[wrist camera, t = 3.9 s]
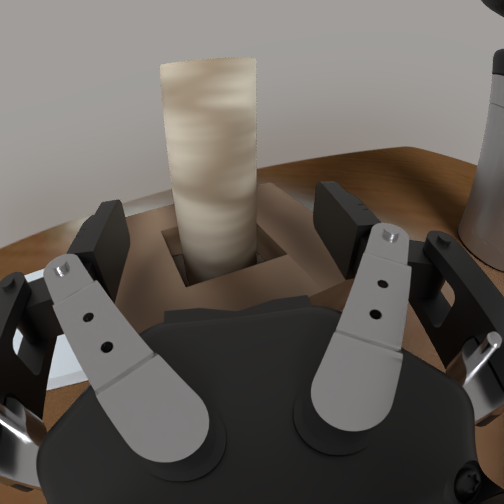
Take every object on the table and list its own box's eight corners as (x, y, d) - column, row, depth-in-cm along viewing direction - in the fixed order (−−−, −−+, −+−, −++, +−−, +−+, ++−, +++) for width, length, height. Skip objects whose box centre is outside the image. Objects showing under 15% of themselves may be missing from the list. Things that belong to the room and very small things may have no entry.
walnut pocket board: (270, 205, 29) (270, 182, 27) (370, 293, 19) (380, 264, 17) (107, 249, 23) (99, 225, 22) (133, 390, 13) (116, 366, 12)
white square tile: (91, 264, 21) (88, 254, 21) (104, 375, 14) (97, 366, 13) (-8, 297, 18) (-13, 289, 17) (-26, 404, 10) (-35, 396, 9)
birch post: (238, 243, 24) (232, 60, 15) (269, 280, 20) (274, 58, 12) (178, 260, 22) (153, 67, 14) (200, 304, 18) (170, 62, 10)
